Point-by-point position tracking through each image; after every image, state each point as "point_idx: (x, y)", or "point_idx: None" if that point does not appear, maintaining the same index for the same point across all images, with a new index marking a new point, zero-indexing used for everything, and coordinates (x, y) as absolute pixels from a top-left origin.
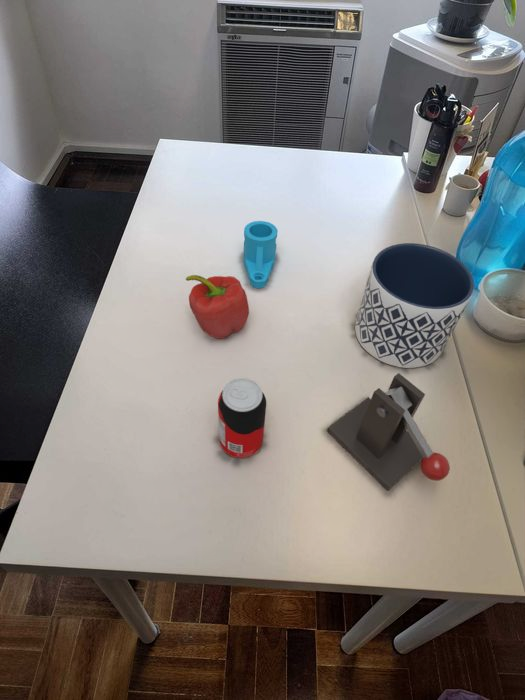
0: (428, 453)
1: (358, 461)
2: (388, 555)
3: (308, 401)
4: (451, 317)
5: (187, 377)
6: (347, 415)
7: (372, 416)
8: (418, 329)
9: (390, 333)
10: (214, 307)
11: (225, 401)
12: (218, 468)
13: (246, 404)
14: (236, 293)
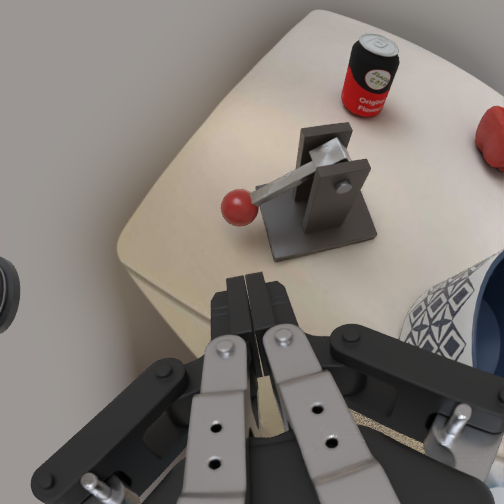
0: (253, 195)
1: None
2: (200, 159)
3: (391, 177)
4: (453, 352)
5: (435, 104)
6: (359, 195)
7: None
8: (450, 298)
9: (456, 276)
10: (496, 110)
11: (373, 35)
12: (339, 84)
13: (366, 41)
14: None
